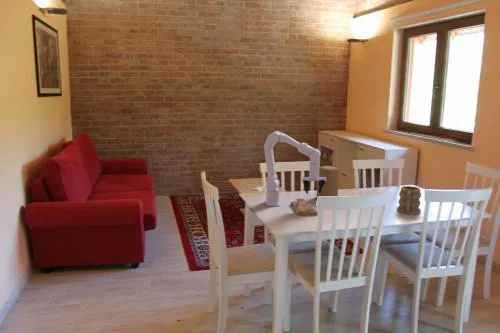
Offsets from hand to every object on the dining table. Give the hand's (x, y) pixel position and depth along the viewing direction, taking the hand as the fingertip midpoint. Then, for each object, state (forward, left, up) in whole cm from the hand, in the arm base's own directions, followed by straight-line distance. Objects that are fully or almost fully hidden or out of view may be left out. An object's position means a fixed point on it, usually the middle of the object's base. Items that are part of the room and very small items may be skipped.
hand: (313, 193), depth 261 cm
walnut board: (+2, -6, -9) cm, 11 cm away
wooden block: (-22, +16, -10) cm, 29 cm away
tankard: (+13, +53, -10) cm, 55 cm away
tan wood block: (+9, -10, -9) cm, 16 cm away
